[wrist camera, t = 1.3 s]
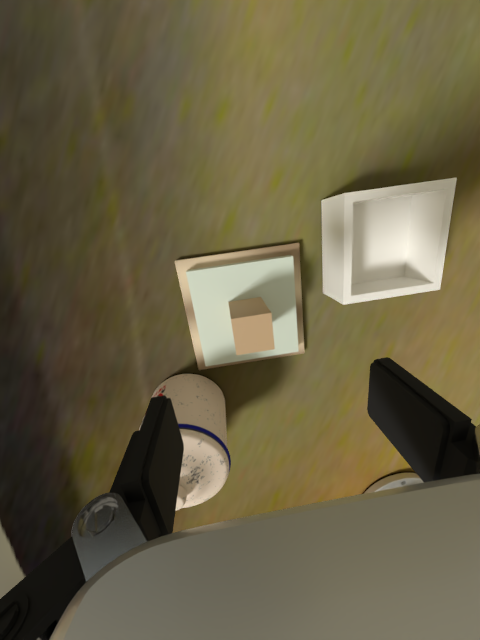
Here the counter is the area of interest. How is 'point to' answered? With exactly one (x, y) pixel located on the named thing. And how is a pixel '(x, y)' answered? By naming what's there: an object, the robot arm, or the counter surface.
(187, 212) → the counter surface
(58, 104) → the counter surface
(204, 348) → the lid
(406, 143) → the counter surface
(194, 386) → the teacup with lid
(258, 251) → the mat
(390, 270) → the white open square tray
